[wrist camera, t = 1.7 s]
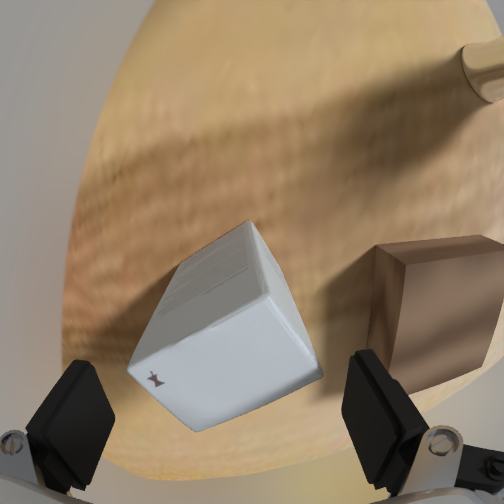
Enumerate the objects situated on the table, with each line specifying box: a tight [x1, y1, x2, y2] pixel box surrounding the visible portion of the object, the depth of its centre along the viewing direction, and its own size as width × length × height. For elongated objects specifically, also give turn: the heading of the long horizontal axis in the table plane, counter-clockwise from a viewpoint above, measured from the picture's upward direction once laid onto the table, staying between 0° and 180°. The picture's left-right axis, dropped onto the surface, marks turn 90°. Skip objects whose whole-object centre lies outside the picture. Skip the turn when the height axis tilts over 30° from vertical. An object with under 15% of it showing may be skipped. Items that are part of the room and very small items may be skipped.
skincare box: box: [127, 220, 323, 432], centre depth 15 cm, size 6×4×12 cm
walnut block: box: [366, 235, 504, 395], centre depth 20 cm, size 12×12×5 cm
